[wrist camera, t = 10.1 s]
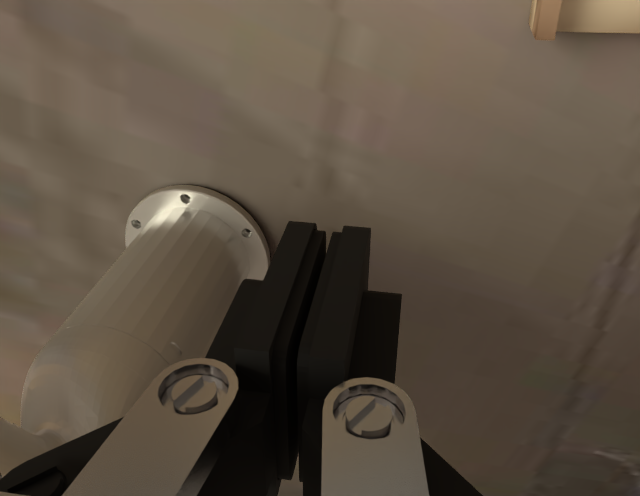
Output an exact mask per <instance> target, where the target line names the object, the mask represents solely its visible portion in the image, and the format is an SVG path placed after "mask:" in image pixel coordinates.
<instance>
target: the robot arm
mask: <svg viewBox="0 0 640 496" xmlns="http://www.w3.org/2000/svg"><path fill="white" fill-rule="evenodd" d="M370 238H371V228H365V227H353V226H344V227H343V230H342V233H341V232H333V233H332V236H331V240H330V243H329V246H328V250H327V253H326V232H325V231H318V230H317V226H316V223H305V222H293V221H289V222H288V224H287V226H286V229H285V231H284V233H283V236H282V238H281V240H280V243H279V245H278V247H277V250H276V252H275V254H274V256H273V259H272V261H271V263H270V251H269V248H268V244H267V241H266V238H265V236H264V234H263V233H262V231H261V229H260V227H259V226H258V224H257V223H256V222H255V220H254V219H253V218H252V217H251V215H250V214H249V213H247V212H246V211H245V210H244V209H243V208H242V207H241V206H240V205H239V204H237V203H236V202H234V201H233V200H231V199H230V198H228V197H226V196H224V195H222V194H220V193H218V192H216V191H214V190H210V189H207V188H203V187H200V186H193V185H172V186H168V187H164V188H160V189H158V190H156V191H154V192H152V193H150V194H148V195H147V196H146V197H145V198H144V199H143V200H142V201H141V202H140V203H139V204H138V205H137V206H136V207H135V209H134V210H133V211H132V213H131V214H130V216H129V218H128V221H127V225H126V230H125V244H126V249H125V251H124V252H123V253H122V254H121V255H120V257H119V258H118V259H117V260H116V261H115V262H114V264H113V265H112V266H111V267H110V268H109V270H108V271H107V272H106V273H105V274H104V276H103V277H102V278H101V279H100V280H99V282H98V283H97V284H96V285H95V286H94V287H93V289H92V290H91V291H90V292H89V293H88V295H87V296H86V297H85V298H84V299H83V301H82V302H81V303H80V304H79V305H78V307H77V308H76V309H75V310H74V311H73V312H72V314H71V315H70V316H69V317H68V318H67V320H66V321H65V322H64V323H63V324H62V326H61V327H60V328H59V329H58V330H57V332H56V333H55V334H54V335H53V336H52V337H51V339H50V340H49V341H48V342H47V343H46V344H45V346H44V347H43V348H42V350H41V351H40V352H39V353H38V355H37V356H36V358H35V359H34V361H33V363H32V365H31V367H30V369H29V371H28V374H27V377H26V381H25V384H24V388H23V394H22V402H21V427H19V426H17V425H15V424H14V423H13V424H11V423H10V422H8V421H6V420H5V419H3V418H1V417H0V496H277V495H278V491H279V487H280V483H281V479H285V480H291V479H292V477H293V473H294V469H295V465H296V461H297V456H298V452H299V480H300V482H303V496H483V495H482V494H480V493H479V492H478V491H477V490H476V489H475V488H474V487H473V486H472V485H471V484H470V483H469V482H468V481H466V480H465V479H464V478H463V477H462V476H461V475H460V474H459V473H458V472H457V471H456V470H455V469H454V468H452V467H451V466H450V465H449V464H448V463H447V462H446V461H445V460H444V459H443V458H442V457H441V456H440V455H438V454H437V453H436V452H435V451H434V450H433V449H432V448H431V447H430V446H429V445H428V444H427V443H426V442H424V441H423V440H422V439H421V438H420V435H419V429H418V423H417V416H416V411H415V408H414V405H413V402H412V400H411V399H410V398H409V396H408V395H407V394H406V393H405V392H404V391H403V390H402V389H400V388H399V387H397V386H396V385H394V383H395V371H396V359H397V346H398V334H399V322H400V310H401V298H402V294H397V293H387V292H376V291H368V274H369V256H370Z"/></svg>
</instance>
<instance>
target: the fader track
mask: <svg viewBox="0 0 640 496" xmlns="http://www.w3.org/2000/svg"><path fill="white" fill-rule="evenodd" d="M529 25H530V28H531V30H532V32H533V35H534V37H535V40H555V34H556V32H600V33H640V0H532V5H531V12H530V18H529Z"/></svg>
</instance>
